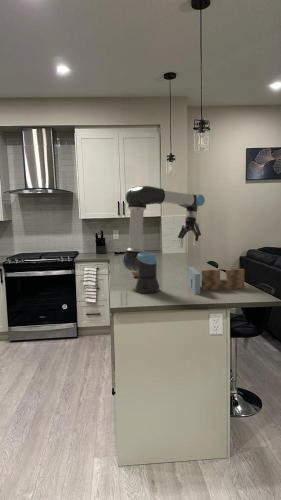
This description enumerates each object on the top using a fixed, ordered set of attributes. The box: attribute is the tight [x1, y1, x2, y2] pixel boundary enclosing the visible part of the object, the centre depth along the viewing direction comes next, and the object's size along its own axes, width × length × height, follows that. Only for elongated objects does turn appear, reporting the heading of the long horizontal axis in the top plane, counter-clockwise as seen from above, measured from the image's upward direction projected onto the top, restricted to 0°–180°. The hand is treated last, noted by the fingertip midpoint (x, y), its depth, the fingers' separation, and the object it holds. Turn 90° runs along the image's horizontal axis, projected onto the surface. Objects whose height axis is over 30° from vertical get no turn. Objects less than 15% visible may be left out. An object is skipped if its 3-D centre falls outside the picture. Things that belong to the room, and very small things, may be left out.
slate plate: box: [188, 266, 201, 295], centre depth 194 cm, size 24×3×12 cm, turn 0°
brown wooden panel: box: [201, 268, 245, 291], centre depth 194 cm, size 26×3×12 cm, turn 90°
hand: (187, 246), depth 222 cm, fingers open, 13 cm apart
